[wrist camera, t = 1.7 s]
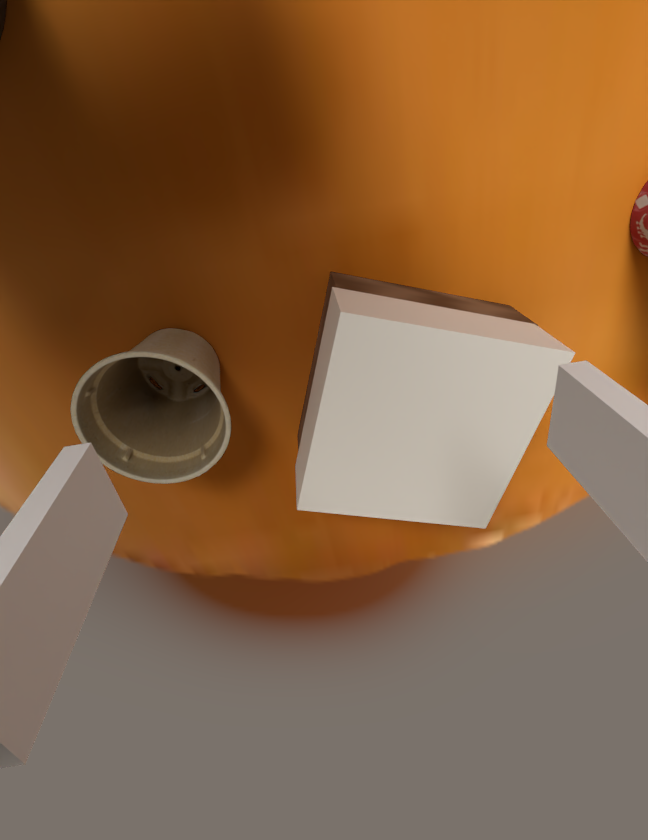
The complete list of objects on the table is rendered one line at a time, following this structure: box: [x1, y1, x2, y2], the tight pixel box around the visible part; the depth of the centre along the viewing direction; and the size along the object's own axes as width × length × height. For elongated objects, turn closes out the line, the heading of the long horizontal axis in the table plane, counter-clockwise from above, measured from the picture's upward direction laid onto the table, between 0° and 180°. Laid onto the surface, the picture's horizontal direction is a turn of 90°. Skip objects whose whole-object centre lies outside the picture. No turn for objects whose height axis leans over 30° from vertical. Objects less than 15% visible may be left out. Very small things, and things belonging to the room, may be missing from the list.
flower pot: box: [71, 328, 231, 484], centre depth 31 cm, size 9×9×9 cm
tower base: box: [298, 272, 538, 451], centre depth 35 cm, size 14×14×5 cm
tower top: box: [295, 287, 575, 529], centre depth 31 cm, size 14×14×5 cm
